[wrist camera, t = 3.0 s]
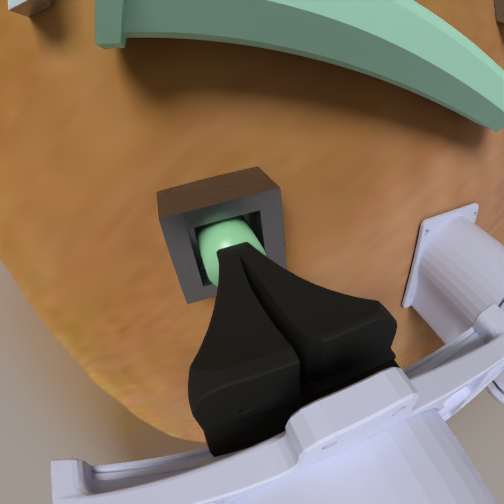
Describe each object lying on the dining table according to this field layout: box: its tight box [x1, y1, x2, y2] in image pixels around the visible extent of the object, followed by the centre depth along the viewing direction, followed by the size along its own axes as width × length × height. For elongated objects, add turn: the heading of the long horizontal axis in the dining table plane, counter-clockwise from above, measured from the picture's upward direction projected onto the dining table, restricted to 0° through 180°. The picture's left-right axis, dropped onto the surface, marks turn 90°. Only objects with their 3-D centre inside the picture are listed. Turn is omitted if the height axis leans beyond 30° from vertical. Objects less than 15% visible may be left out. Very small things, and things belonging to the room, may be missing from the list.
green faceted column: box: [95, 0, 504, 132], centre depth 11 cm, size 6×6×25 cm
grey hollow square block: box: [157, 167, 287, 304], centre depth 15 cm, size 5×5×3 cm
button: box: [195, 215, 266, 287], centre depth 14 cm, size 3×3×3 cm
